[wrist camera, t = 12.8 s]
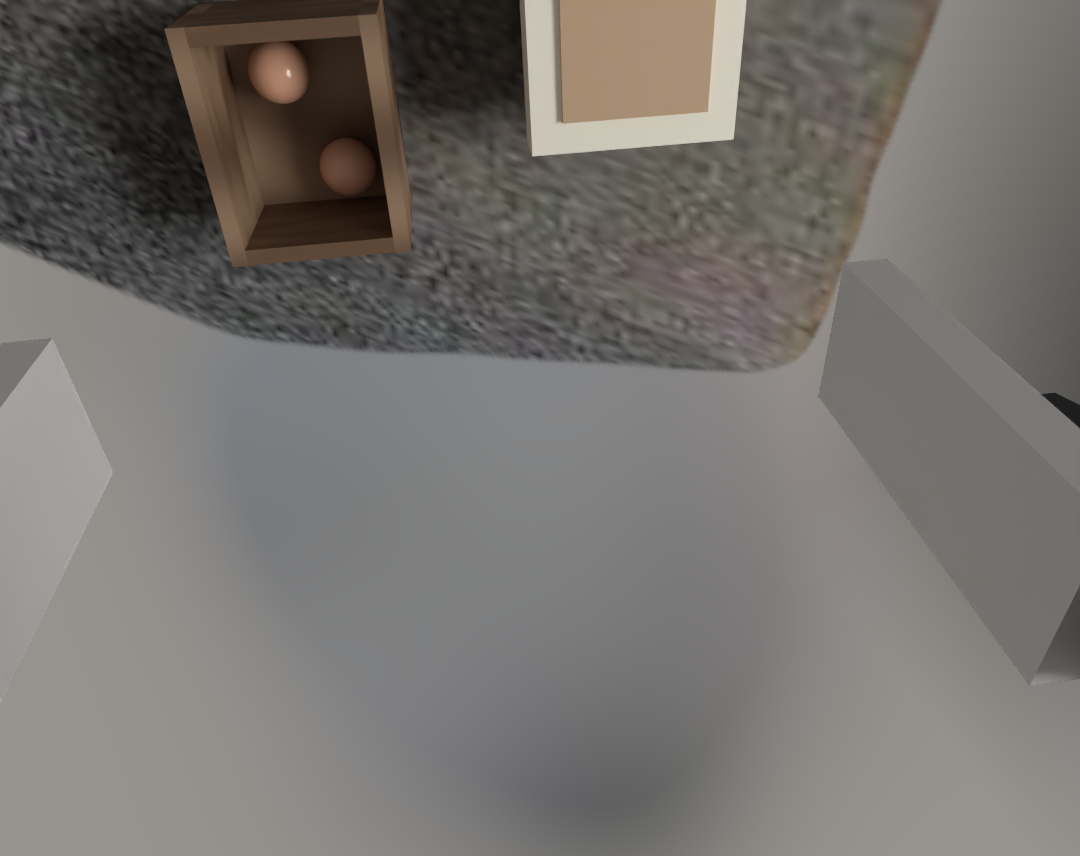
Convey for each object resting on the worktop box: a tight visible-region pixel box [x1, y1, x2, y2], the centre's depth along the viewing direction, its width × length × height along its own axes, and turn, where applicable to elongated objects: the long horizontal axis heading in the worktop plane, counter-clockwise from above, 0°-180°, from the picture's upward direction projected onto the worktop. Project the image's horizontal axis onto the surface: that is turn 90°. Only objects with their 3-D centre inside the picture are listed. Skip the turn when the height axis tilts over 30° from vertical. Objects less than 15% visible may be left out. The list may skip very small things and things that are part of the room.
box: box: [165, 0, 412, 267], centre depth 41 cm, size 11×9×7 cm
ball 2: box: [319, 138, 377, 196], centre depth 44 cm, size 3×3×3 cm
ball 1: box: [248, 41, 311, 104], centre depth 41 cm, size 3×3×3 cm
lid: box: [520, 0, 746, 156], centre depth 37 cm, size 12×10×3 cm
